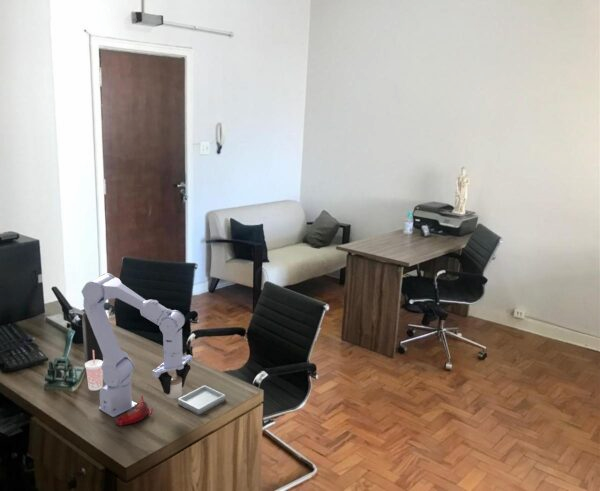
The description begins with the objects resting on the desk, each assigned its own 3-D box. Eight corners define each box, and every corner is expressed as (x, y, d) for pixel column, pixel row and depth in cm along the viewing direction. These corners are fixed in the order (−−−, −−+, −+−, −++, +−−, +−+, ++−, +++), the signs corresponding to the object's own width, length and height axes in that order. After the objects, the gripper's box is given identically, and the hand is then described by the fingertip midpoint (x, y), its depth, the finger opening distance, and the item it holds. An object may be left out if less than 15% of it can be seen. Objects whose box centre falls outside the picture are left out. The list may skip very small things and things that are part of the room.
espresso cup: (173, 400, 169) (172, 384, 168) (162, 394, 172) (161, 379, 171) (185, 394, 173) (185, 378, 172) (174, 388, 176) (174, 373, 175)
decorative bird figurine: (147, 428, 166) (114, 429, 166) (160, 398, 183) (130, 399, 183) (146, 420, 165) (113, 421, 165) (160, 391, 182) (130, 392, 182)
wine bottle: (84, 366, 204) (79, 290, 196) (99, 362, 207) (95, 287, 200) (88, 372, 199) (83, 294, 192) (104, 368, 203) (100, 292, 195)
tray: (198, 414, 175) (198, 409, 174) (177, 404, 181) (177, 398, 180) (225, 400, 184) (225, 394, 184) (204, 390, 190) (204, 385, 190)
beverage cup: (98, 392, 186) (96, 354, 182) (82, 390, 187) (80, 352, 184) (108, 384, 192) (106, 347, 188) (92, 381, 193) (90, 345, 189)
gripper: (162, 362, 161) (163, 403, 164) (199, 346, 172) (199, 385, 176) (147, 355, 165) (148, 395, 168) (184, 340, 176) (184, 378, 180)
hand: (173, 389), depth 172 cm, fingers closed on espresso cup, 5 cm apart
